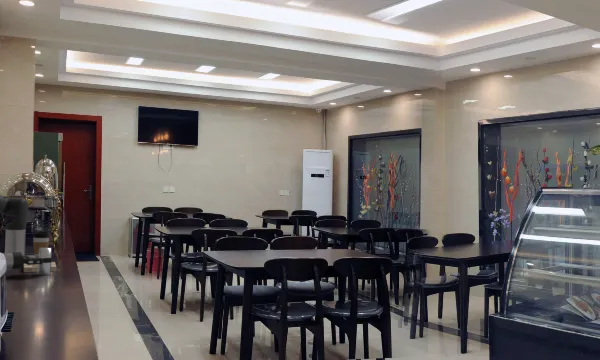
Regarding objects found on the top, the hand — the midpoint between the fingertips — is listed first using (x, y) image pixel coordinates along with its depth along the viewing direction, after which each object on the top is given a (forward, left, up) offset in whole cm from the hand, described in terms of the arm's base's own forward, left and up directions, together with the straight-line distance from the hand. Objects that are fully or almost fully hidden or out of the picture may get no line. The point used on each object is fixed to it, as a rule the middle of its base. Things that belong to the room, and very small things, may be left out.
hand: (48, 259), depth 264 cm
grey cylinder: (+1, -1, -7) cm, 7 cm away
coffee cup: (-45, -23, -7) cm, 51 cm away
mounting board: (-15, -10, -7) cm, 19 cm away
